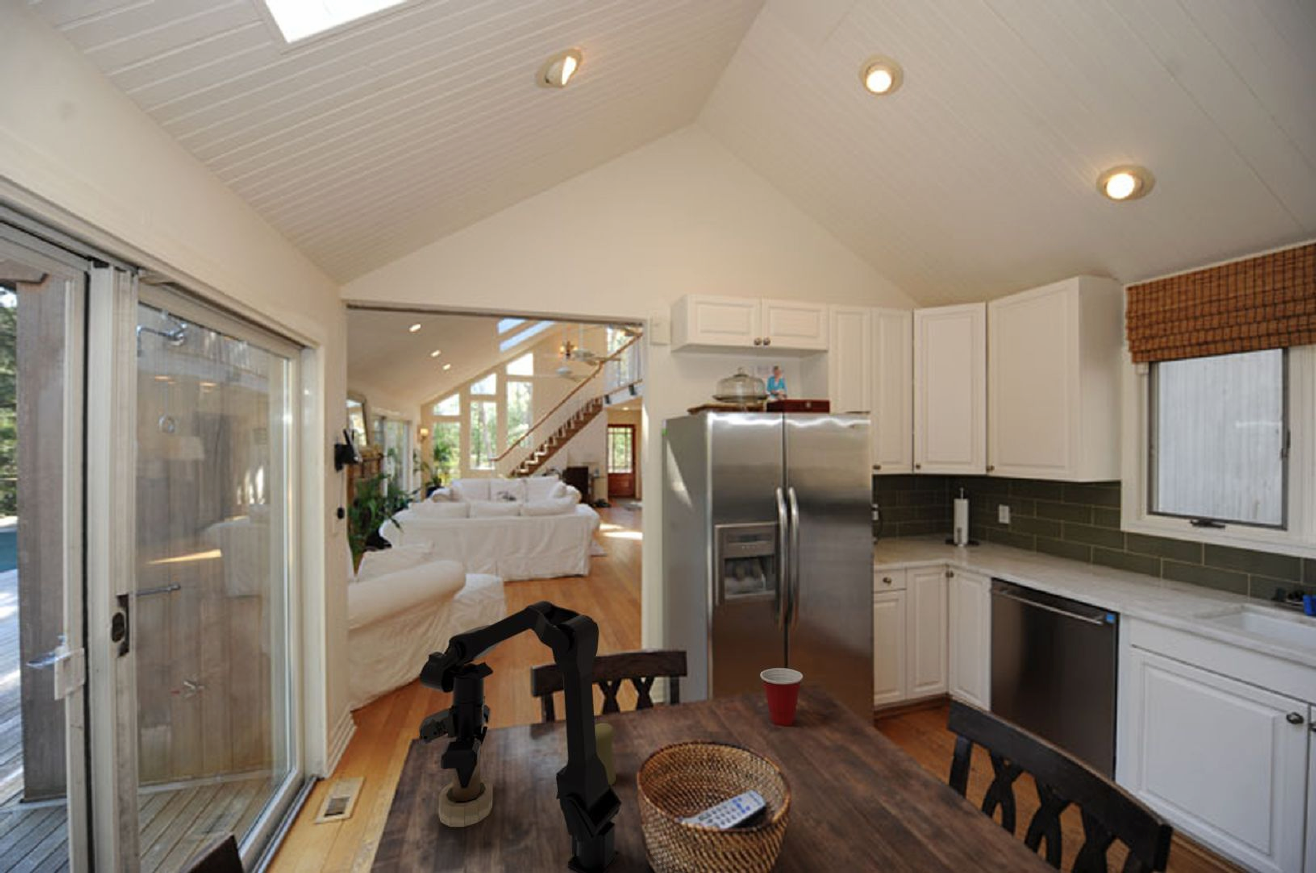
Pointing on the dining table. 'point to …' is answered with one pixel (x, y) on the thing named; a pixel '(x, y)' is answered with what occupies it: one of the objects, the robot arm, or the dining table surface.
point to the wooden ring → (465, 806)
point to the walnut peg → (473, 785)
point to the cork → (606, 749)
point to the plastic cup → (781, 694)
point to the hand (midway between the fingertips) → (466, 779)
